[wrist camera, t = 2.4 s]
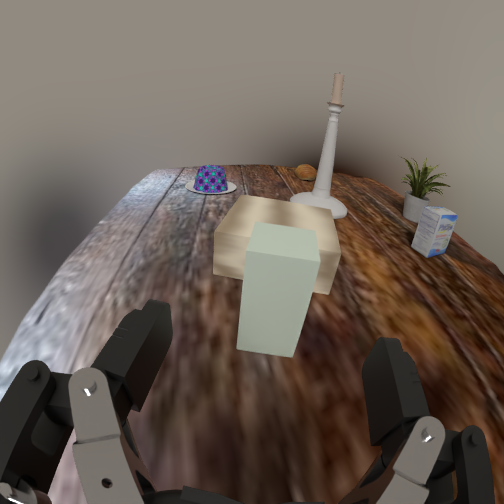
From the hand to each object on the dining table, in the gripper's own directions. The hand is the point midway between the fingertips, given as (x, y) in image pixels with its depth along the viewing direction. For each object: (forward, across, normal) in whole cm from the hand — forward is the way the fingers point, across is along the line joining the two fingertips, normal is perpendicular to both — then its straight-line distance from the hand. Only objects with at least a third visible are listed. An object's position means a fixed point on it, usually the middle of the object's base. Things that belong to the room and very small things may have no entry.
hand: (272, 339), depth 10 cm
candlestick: (+50, -8, +11) cm, 52 cm away
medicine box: (+37, -30, +11) cm, 49 cm away
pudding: (+54, +16, +12) cm, 57 cm away
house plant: (+55, -34, +10) cm, 66 cm away
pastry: (+78, -7, +11) cm, 79 cm away
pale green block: (+12, 0, +11) cm, 16 cm away
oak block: (+26, 0, +12) cm, 29 cm away
